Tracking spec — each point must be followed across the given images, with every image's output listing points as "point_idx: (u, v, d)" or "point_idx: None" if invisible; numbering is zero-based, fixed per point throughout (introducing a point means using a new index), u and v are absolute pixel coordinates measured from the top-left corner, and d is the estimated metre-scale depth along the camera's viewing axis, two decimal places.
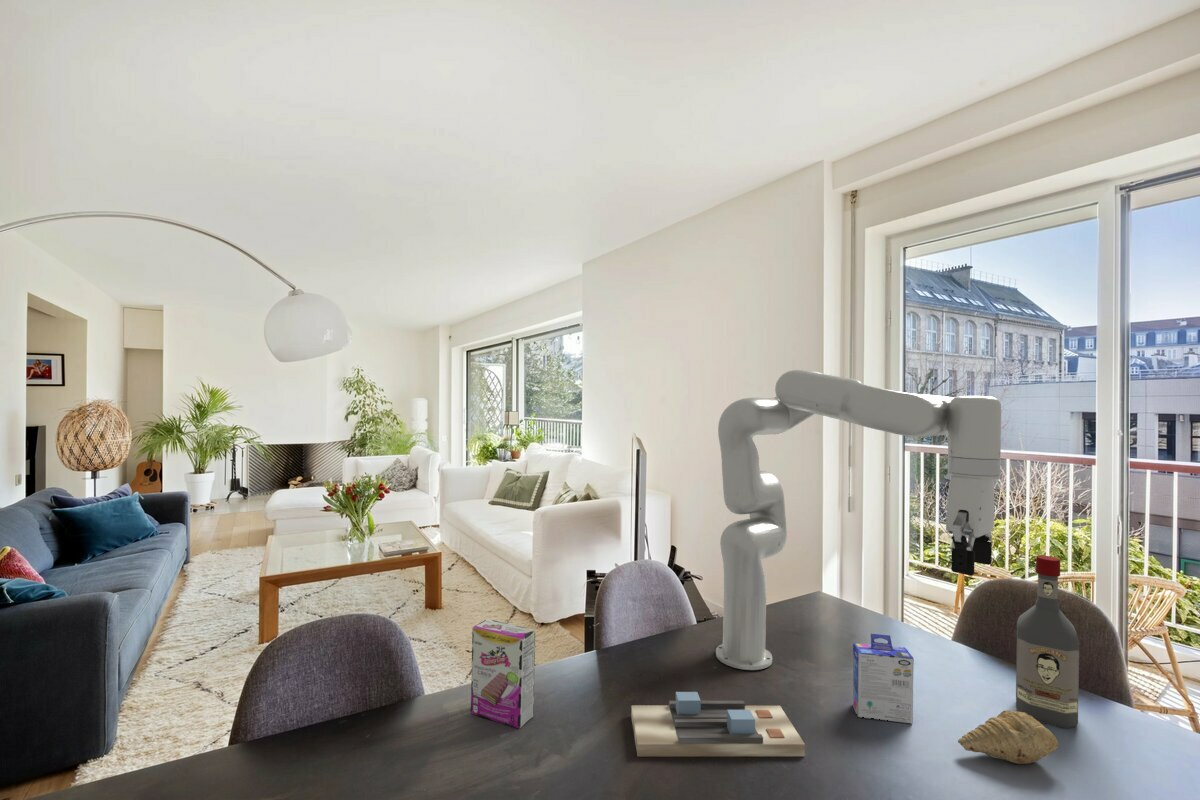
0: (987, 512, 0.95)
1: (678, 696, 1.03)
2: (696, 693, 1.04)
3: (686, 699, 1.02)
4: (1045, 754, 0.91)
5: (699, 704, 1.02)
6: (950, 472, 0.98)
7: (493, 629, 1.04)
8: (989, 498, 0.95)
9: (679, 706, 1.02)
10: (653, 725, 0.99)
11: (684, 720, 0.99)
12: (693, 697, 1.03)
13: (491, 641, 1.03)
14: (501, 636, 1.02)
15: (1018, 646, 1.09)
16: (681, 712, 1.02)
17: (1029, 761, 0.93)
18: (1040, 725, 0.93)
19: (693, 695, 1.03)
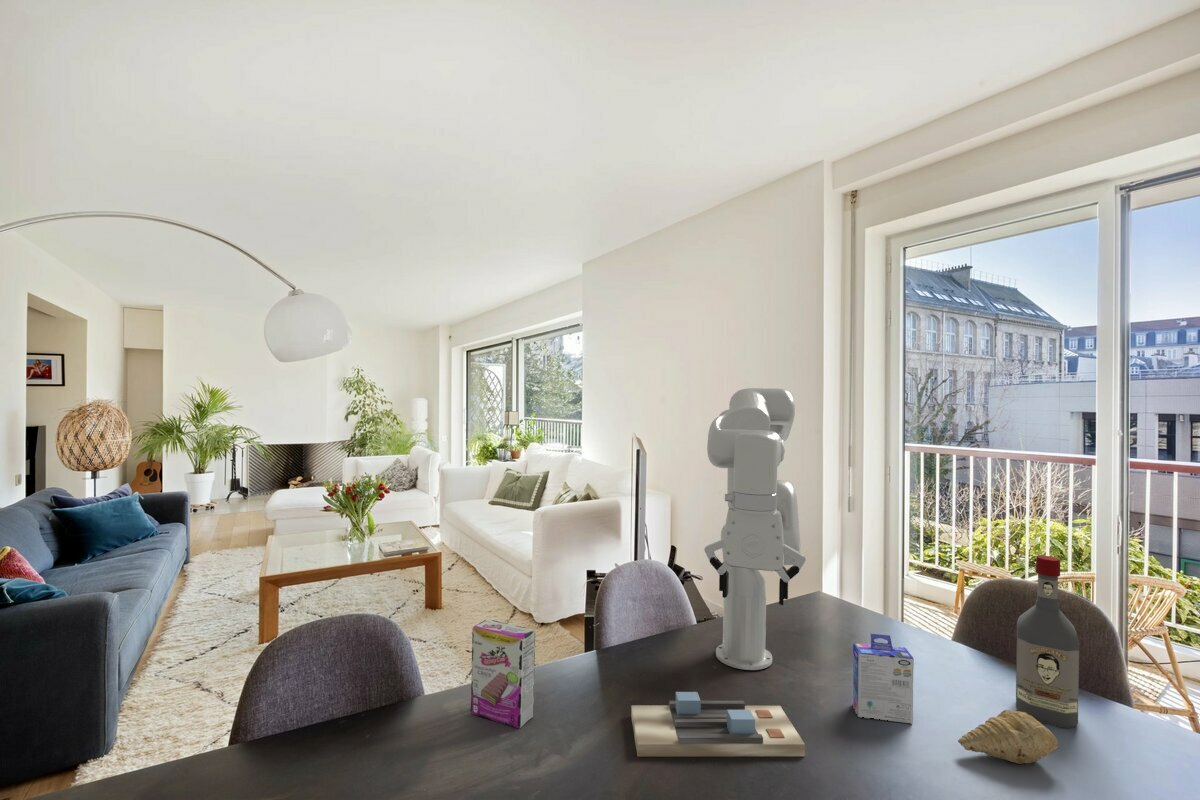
0: None
1: (678, 696, 1.03)
2: (696, 693, 1.04)
3: (686, 699, 1.02)
4: (1045, 754, 0.91)
5: (699, 704, 1.02)
6: (767, 511, 0.97)
7: (493, 629, 1.04)
8: None
9: (679, 706, 1.02)
10: (653, 725, 0.99)
11: (684, 720, 0.99)
12: (693, 697, 1.03)
13: (491, 641, 1.03)
14: (501, 636, 1.02)
15: (1018, 646, 1.09)
16: (681, 712, 1.02)
17: (1029, 761, 0.93)
18: (1040, 725, 0.93)
19: (693, 695, 1.03)
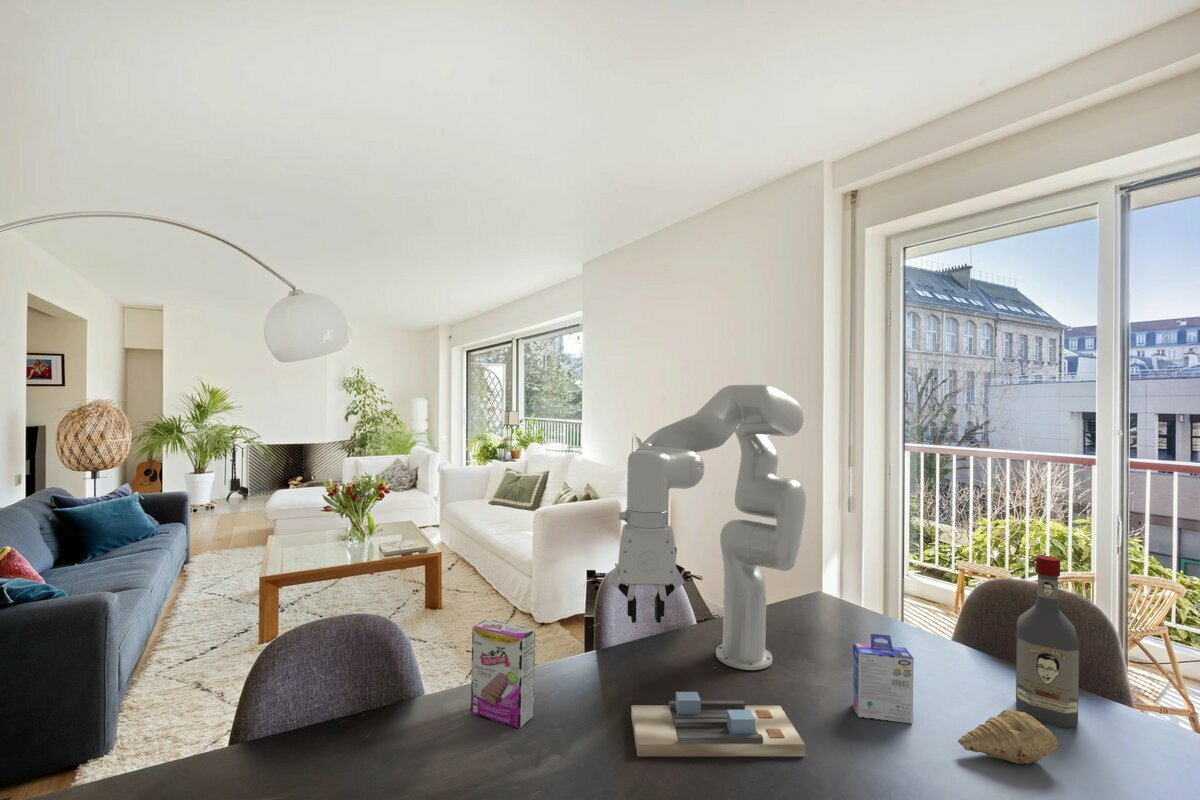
0: None
1: (678, 696, 1.03)
2: (696, 693, 1.04)
3: (686, 699, 1.02)
4: (1045, 754, 0.91)
5: (699, 704, 1.02)
6: (662, 527, 1.00)
7: (493, 629, 1.04)
8: None
9: (679, 706, 1.02)
10: (653, 725, 0.99)
11: (684, 720, 0.99)
12: (693, 697, 1.03)
13: (491, 641, 1.03)
14: (501, 636, 1.02)
15: (1018, 646, 1.09)
16: (681, 712, 1.02)
17: (1029, 761, 0.93)
18: (1040, 725, 0.93)
19: (693, 695, 1.03)
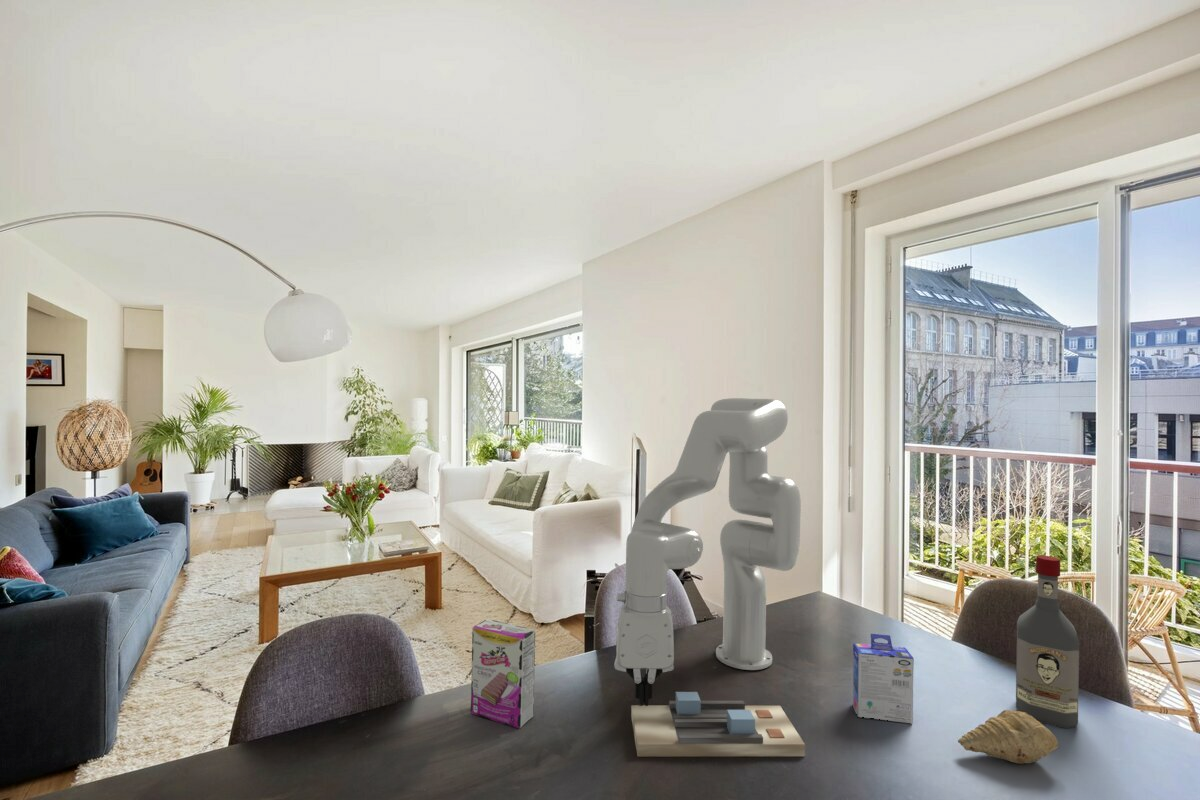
0: None
1: (678, 696, 1.03)
2: (696, 693, 1.04)
3: (686, 699, 1.02)
4: (1045, 754, 0.91)
5: (699, 704, 1.02)
6: (660, 611, 1.00)
7: (493, 629, 1.04)
8: None
9: (679, 706, 1.02)
10: (653, 725, 0.99)
11: (684, 720, 0.99)
12: (693, 697, 1.03)
13: (491, 641, 1.03)
14: (501, 636, 1.02)
15: (1018, 646, 1.09)
16: (681, 712, 1.02)
17: (1029, 761, 0.93)
18: (1040, 725, 0.93)
19: (693, 695, 1.03)
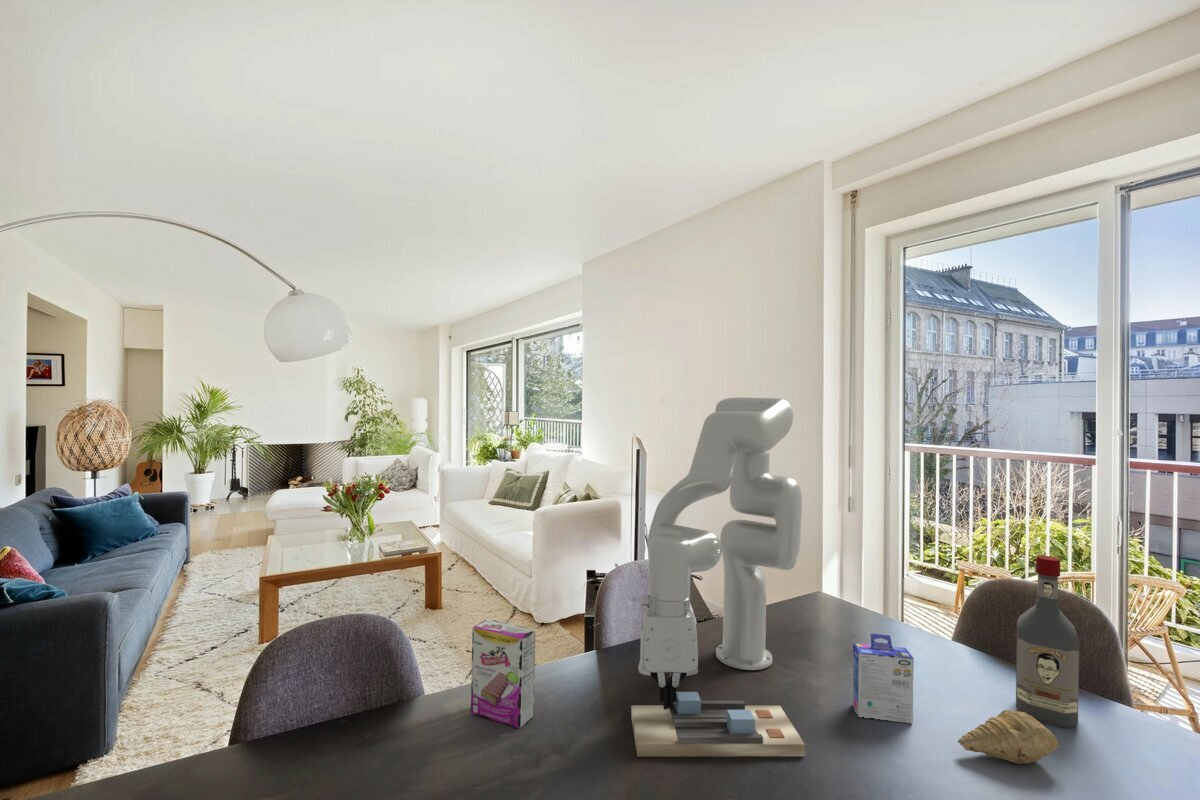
0: None
1: (678, 696, 1.03)
2: (696, 693, 1.04)
3: (686, 699, 1.02)
4: (1045, 754, 0.91)
5: (699, 704, 1.02)
6: (684, 615, 1.00)
7: (493, 629, 1.04)
8: None
9: (679, 706, 1.02)
10: (653, 725, 0.99)
11: (684, 720, 0.99)
12: (693, 697, 1.03)
13: (491, 641, 1.03)
14: (501, 636, 1.02)
15: (1018, 646, 1.09)
16: (681, 712, 1.02)
17: (1029, 761, 0.93)
18: (1040, 725, 0.93)
19: (693, 695, 1.03)
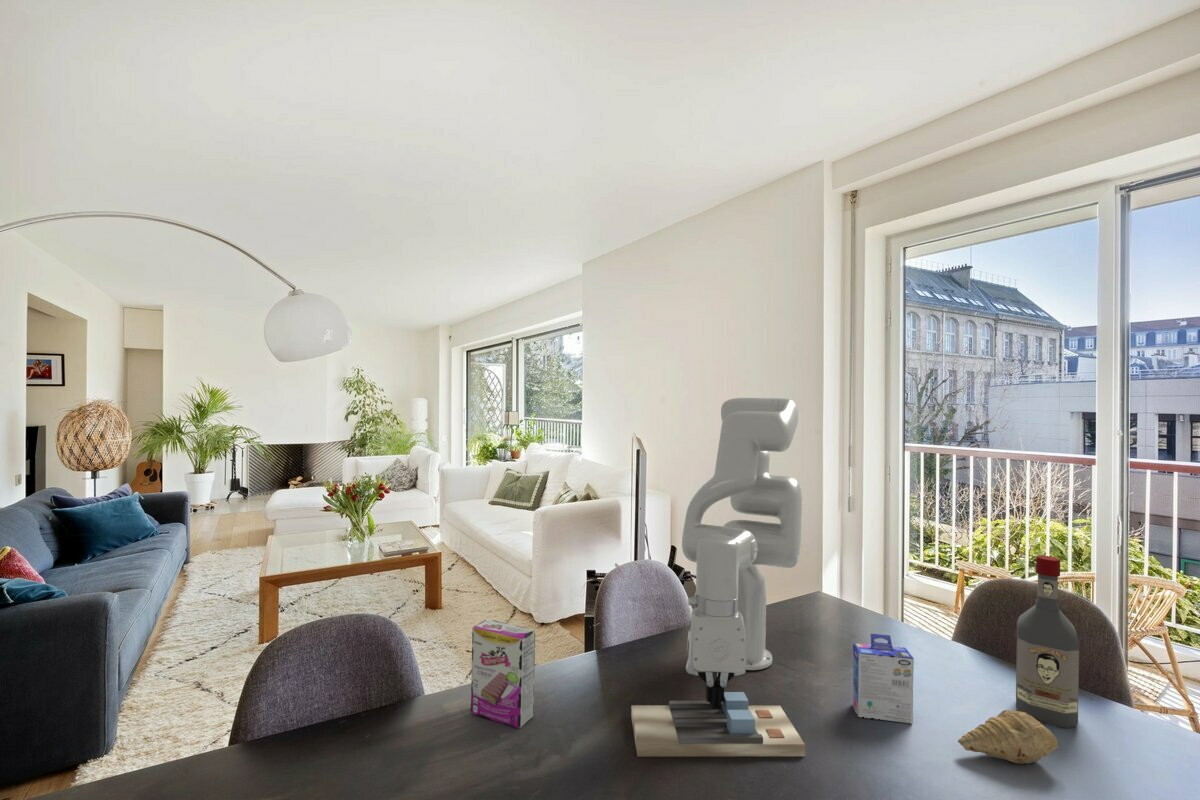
0: None
1: (725, 696, 1.03)
2: (743, 693, 1.04)
3: (734, 699, 1.02)
4: (1045, 754, 0.91)
5: (747, 704, 1.02)
6: (732, 615, 1.01)
7: (493, 629, 1.04)
8: None
9: (727, 706, 1.02)
10: (653, 725, 0.99)
11: (684, 720, 0.99)
12: (740, 697, 1.03)
13: (491, 641, 1.03)
14: (501, 636, 1.02)
15: (1018, 646, 1.10)
16: None
17: (1029, 761, 0.93)
18: (1040, 725, 0.93)
19: (740, 695, 1.04)
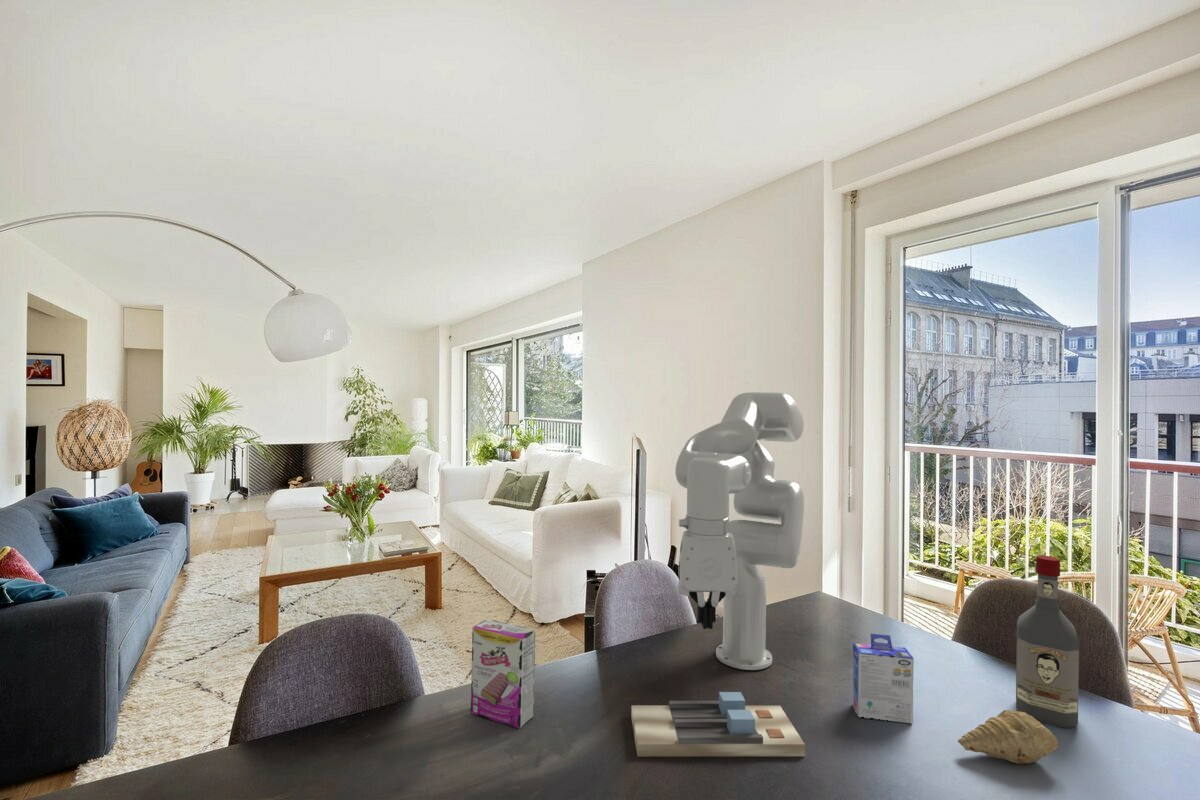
0: None
1: (722, 696, 1.03)
2: (740, 693, 1.04)
3: (730, 699, 1.02)
4: (1045, 754, 0.91)
5: (744, 704, 1.02)
6: (723, 534, 1.01)
7: (493, 629, 1.04)
8: None
9: (724, 706, 1.02)
10: (653, 725, 0.99)
11: (684, 720, 0.99)
12: (737, 697, 1.03)
13: (491, 641, 1.03)
14: (501, 636, 1.02)
15: (1018, 646, 1.10)
16: (726, 712, 1.02)
17: (1029, 761, 0.93)
18: (1040, 725, 0.93)
19: (737, 695, 1.04)
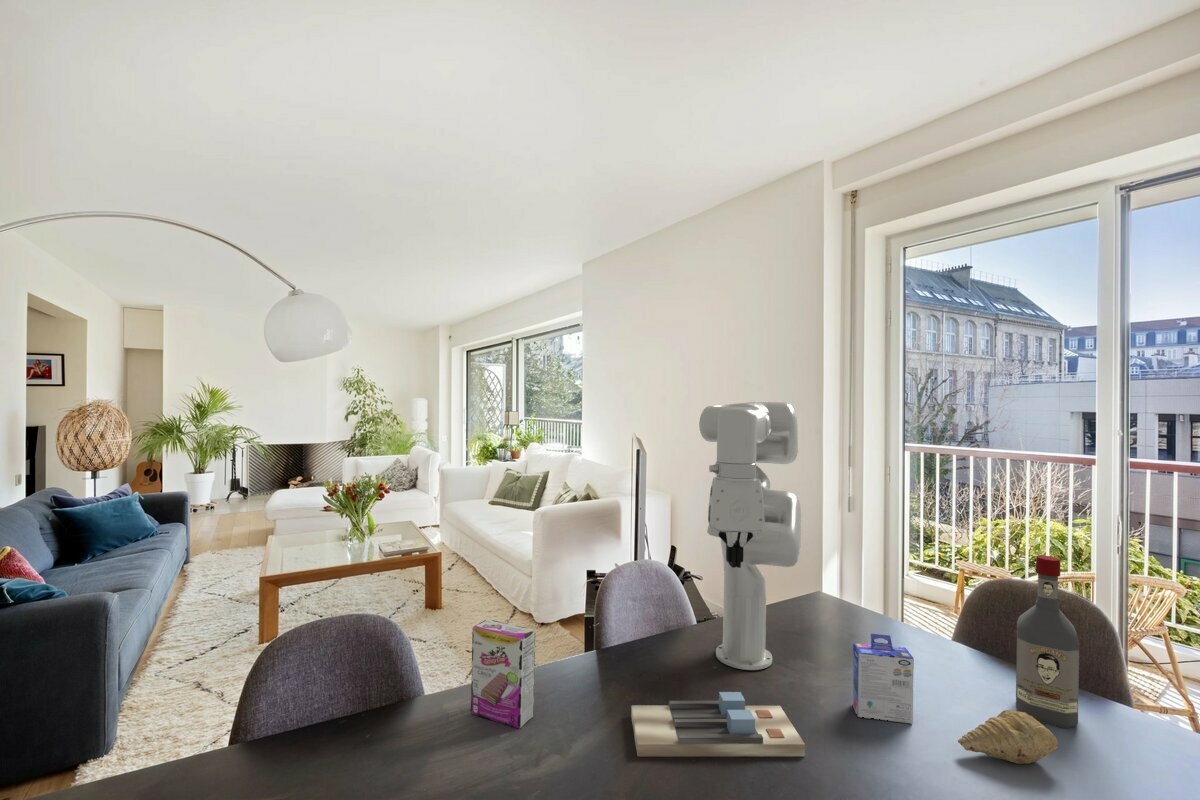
0: None
1: (722, 696, 1.03)
2: (740, 693, 1.04)
3: (730, 699, 1.02)
4: (1045, 754, 0.91)
5: (744, 704, 1.02)
6: (752, 478, 1.08)
7: (493, 629, 1.04)
8: None
9: (724, 706, 1.02)
10: (653, 725, 0.99)
11: (684, 720, 0.99)
12: (737, 697, 1.03)
13: (491, 641, 1.03)
14: (501, 636, 1.02)
15: (1018, 646, 1.09)
16: (726, 712, 1.02)
17: (1029, 761, 0.93)
18: (1040, 725, 0.93)
19: (737, 695, 1.04)
